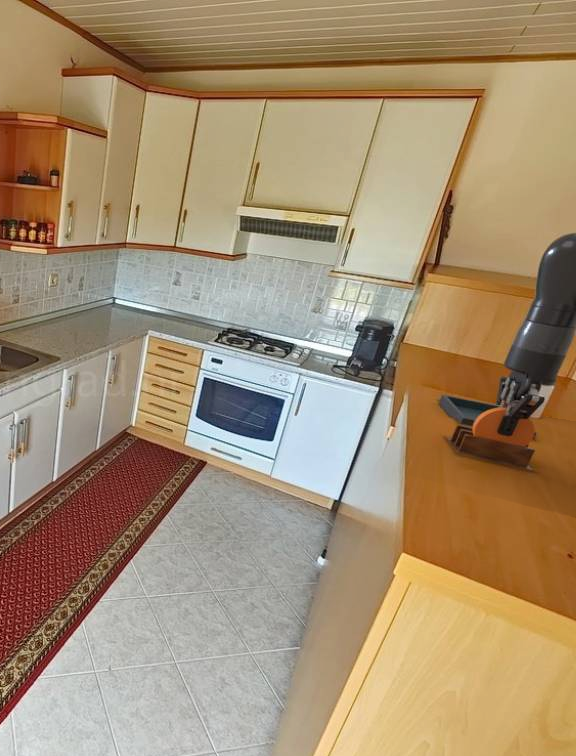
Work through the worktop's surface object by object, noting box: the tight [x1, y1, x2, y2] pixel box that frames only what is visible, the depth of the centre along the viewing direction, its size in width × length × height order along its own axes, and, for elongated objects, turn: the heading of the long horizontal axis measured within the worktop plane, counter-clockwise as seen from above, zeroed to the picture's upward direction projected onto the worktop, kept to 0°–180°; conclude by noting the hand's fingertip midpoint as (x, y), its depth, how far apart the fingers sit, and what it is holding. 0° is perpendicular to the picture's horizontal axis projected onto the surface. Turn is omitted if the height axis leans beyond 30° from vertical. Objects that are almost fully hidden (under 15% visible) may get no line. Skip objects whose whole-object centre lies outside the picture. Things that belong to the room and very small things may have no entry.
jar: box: [498, 374, 559, 419], centre depth 124 cm, size 9×8×12 cm
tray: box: [438, 394, 538, 440], centre depth 117 cm, size 14×18×3 cm
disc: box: [471, 407, 536, 447], centre depth 95 cm, size 9×2×9 cm, turn 66°
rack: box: [445, 424, 536, 471], centre depth 98 cm, size 12×9×5 cm
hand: (501, 432), depth 95 cm, fingers closed on disc, 1 cm apart
